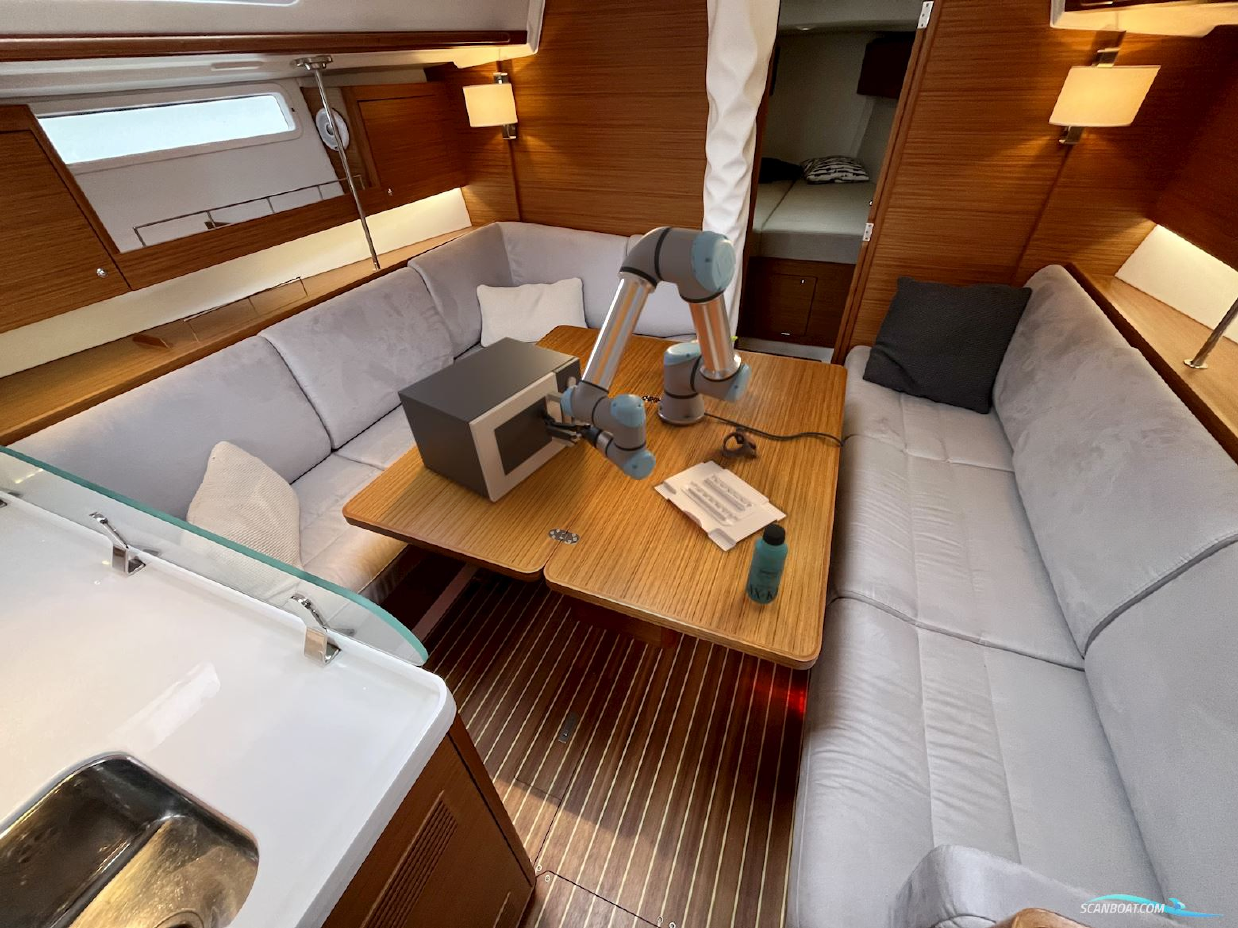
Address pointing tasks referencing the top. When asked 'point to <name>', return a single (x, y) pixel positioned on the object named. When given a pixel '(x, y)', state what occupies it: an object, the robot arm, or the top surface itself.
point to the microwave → (476, 402)
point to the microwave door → (518, 435)
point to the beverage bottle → (767, 565)
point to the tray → (719, 503)
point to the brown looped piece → (740, 439)
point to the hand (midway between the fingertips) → (564, 405)
